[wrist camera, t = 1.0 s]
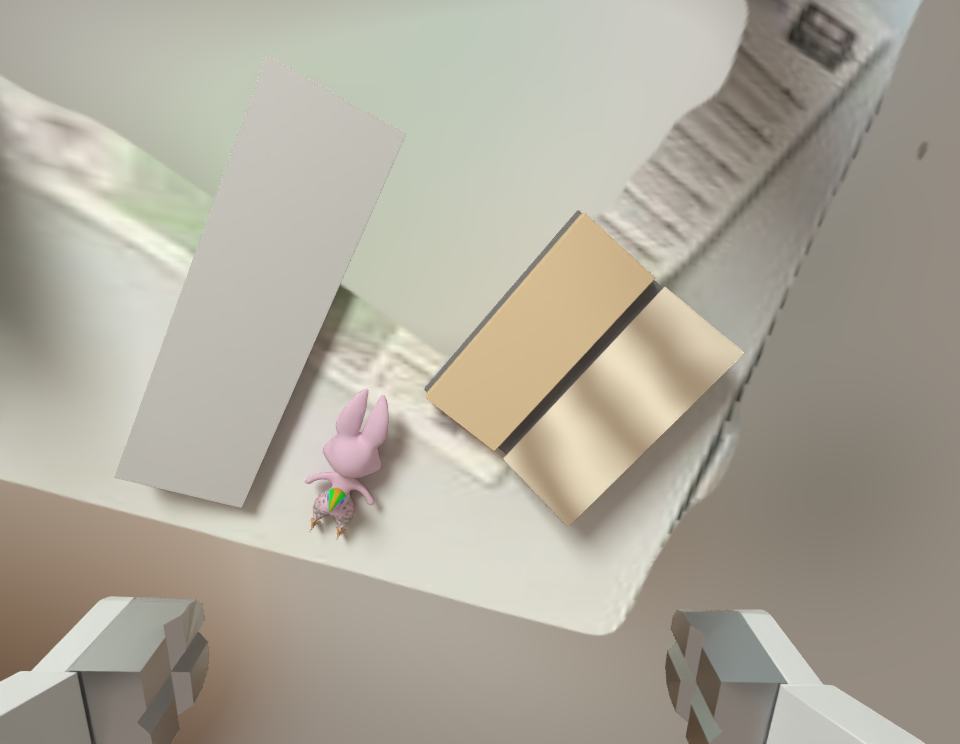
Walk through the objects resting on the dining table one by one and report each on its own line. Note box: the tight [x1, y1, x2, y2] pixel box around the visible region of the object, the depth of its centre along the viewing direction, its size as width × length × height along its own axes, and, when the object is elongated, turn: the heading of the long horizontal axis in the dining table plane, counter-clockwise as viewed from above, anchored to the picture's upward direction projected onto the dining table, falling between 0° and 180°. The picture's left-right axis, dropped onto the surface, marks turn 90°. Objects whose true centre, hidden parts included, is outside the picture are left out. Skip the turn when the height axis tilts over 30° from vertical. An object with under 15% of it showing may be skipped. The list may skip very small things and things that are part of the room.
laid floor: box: [425, 211, 663, 454], centre depth 45 cm, size 19×17×2 cm
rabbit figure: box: [305, 389, 388, 540], centre depth 46 cm, size 6×6×15 cm
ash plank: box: [503, 287, 745, 527], centre depth 44 cm, size 19×8×2 cm, turn 140°
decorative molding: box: [115, 55, 406, 508], centre depth 44 cm, size 34×5×10 cm
